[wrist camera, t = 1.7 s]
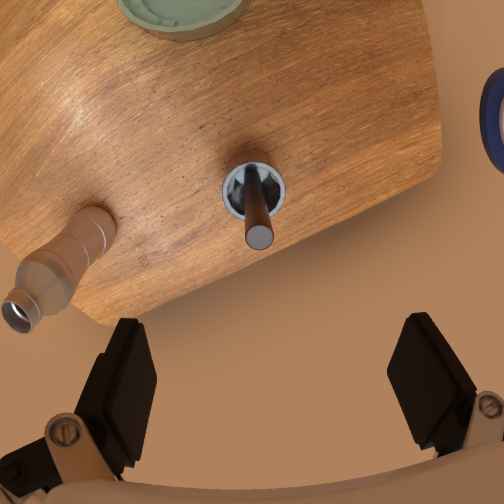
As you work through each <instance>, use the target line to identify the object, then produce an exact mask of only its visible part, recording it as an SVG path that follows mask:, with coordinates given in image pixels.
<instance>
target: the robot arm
mask: <svg viewBox="0 0 504 504" xmlns="http://www.w3.org/2000/svg"><path fill="white" fill-rule="evenodd" d="M499 128H500V135H501V139H502V142H503V145H504V97H503V99H502V102H501V106H500V112H499ZM387 375H388V378H389V380H390V382H391V385H392V387H393V390H394V392H395V394H396V397H397V399H398V401H399V404H400V406H401V409H402V411H403V414H404V416H405V418H406V421H407V424H408V426H409V429H410V431H411V434H412V436H413V439H414V441H415V443H416V444H419V446H420V449H421V450H424V449H428V448H431V447H433V446H434V448H435V450H436V451H435V454H434V457H433V459H432V460H428V461H425V462H422V463H418V464H415V465H412V466H408V467H404V468H401V469H397V470H393V471H389V472H385V473H380V474H376V475H372V476H367V477H362V478H357V479H351V480H346V481H339V482H333V483H326V484H319V485H311V486H301V487H292V488H291V487H290V488H276V489H253V490H219V489H196V488H182V487H170V486H160V485H152V484H143V483H134V482H126V481H125V479H124V478H123V476H122V475H121V474H122V473H123V471H124V467H131V468H134V465H135V461H139V460H140V458H141V453H142V448H143V443H144V438H145V434H146V429H147V424H148V419H149V415H150V410H151V406H152V401H153V397H154V393H155V388H156V384H157V375H156V371H155V368H154V364H153V360H152V357H151V353H150V349H149V345H148V341H147V337H146V334H145V329H144V325H143V324H142V323H139V322H138V320H137V319H134V318H120V320H119V322H118V324H117V326H116V328H115V330H114V333H113V335H112V337H111V339H110V342H109V344H108V346H107V348H106V351H105V353H100V354H99V355H98V357H97V358H96V361H95V363H94V365H93V368H92V370H91V372H90V375H89V377H88V379H87V382H86V384H85V387H84V389H83V391H82V394H81V396H80V399H79V401H78V404H77V406H76V409H75V412H74V414H72V413H61V414H58V415H56V416H54V417H52V418H51V419H50V420H49V422H48V423H47V425H46V427H45V433H44V434H45V437H43V438H41V439H39V440H37V441H35V442H32V443H30V444H28V445H26V446H24V447H22V448H20V449H18V450H16V451H13V452H11V453H9V454H7V455H5V456H4V457H2V458H1V459H0V504H504V401H503V399H502V398H501V397H500V396H499V395H498V394H496V393H494V392H491V391H483V392H481V393H479V394H478V395H477V394H476V392H475V391H476V390H477V388H476V387H475V385H474V383H473V381H472V380H471V378H470V377H469V375H468V373H467V372H466V370H465V369H464V367H463V365H462V364H461V362H460V361H459V359H458V358H457V356H456V355H455V353H454V351H453V350H452V348H451V347H450V345H449V344H448V342H447V341H446V340H445V338H444V337H443V335H442V334H441V332H440V331H439V329H438V328H437V326H436V325H435V323H434V322H433V321H432V319H431V318H430V317H429V315H428V314H427V313H426V312H420V313H412V314H411V315H410V316H409V318H407V319H406V321H405V323H404V326H403V329H402V332H401V335H400V337H399V340H398V342H397V345H396V348H395V350H394V353H393V355H392V358H391V360H390V363H389V365H388V368H387Z"/></svg>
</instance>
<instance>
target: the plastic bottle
mask: <svg viewBox="0 0 504 504" xmlns="http://www.w3.org/2000/svg"><path fill="white" fill-rule="evenodd" d="M115 235H116V228H115V223H114V221H113V219H112V217H111V216H110V215H109V214H108V213H107V212H106V211H105V210H103V209H101V208H99V207H93V206H91V207H86V208H84V209H81V210H79V211H78V212H76V213H75V214H74V215H73V216H72V218H71V219H70V220H69V221H68V223H67V225H66V226H65V227H64V228H63V230H62V231H61V232H60V233H59V234H58V235H57V236H56V237H54V238H53V239H52V240H51V241H49V242H48V243H47V244H45V245H43V246H42V247H40V248H38V249H37V250H35V251H33V252H32V253H30V254H29V255H28V256H26V257H25V258H24V259H23V260H22V261H21V263H20V265H19V267H18V270H17V272H16V279H15V288H13V289H12V290H11V291H10V292H9V294H8V296H7V297H6V299H5V300H4V301H3V303H2V304H1V313H2V316H3V318H4V320H5V322H6V323H7V324H8V325H9V326H10V327H11V328H12V329H13V330H14V331H16V332H18V333H20V334H29V333H30V332H31V331H32V330H33V328H34V327H35V326H36V325H37V324H38V323H39V322H40V321H41V319H42V316H49V315H54V314H57V313H59V312H60V311H62V310H63V309H65V308H66V307H67V306H68V304H69V302H70V301H71V299H72V297H73V295H74V293H75V290H76V288H77V286H78V284H79V282H80V280H81V278H82V277H83V275H84V274H85V272H86V271H87V269H88V268H89V267H90V266H91V265H92V264H93V263H94V262H95V261H96V260H97V259H98V258H100V257H102V256H103V255H104V254H105V253H106V252H107V251H108V250H109V249H110V248H111V246H112V244H113V241H114V239H115Z"/></svg>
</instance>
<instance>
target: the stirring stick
mask: <svg viewBox="0 0 504 504" xmlns="http://www.w3.org/2000/svg"><path fill="white" fill-rule="evenodd" d="M244 211H245V240H246V243H247V244H248V245H249V246H250V247H251V248H253V249H255V250H263V249H266V248H268V247H269V246H270V245H271V244H272V242H273V240H274V233H273V229H272V225H271V220H270V216H269V212H268V207H267V203H266V199H265V195H264V190H263V186H262V182H261V178H260V174H259V173H258V172H257V171H255V170H249V171H247V172H246V173H245V175H244Z"/></svg>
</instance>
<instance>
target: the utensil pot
mask: <svg viewBox="0 0 504 504" xmlns="http://www.w3.org/2000/svg"><path fill="white" fill-rule="evenodd" d="M249 170H255V171H257V172H258V173H259V174H260V178H261V182H262V186H263V190H264V195H265V199H266V203H267V207H268V212H269V216H270V218H271V217H272V216H273V215H275V214H276V213H277V212H278V211H279V210H280V208H281V206H282V204H283V202H284V200H285V191H286V187H285V184H284V181H283V179H282V176H281V174H280V172H279V170H278V168H277V167H276V165H275V163H274V162H273V160H272V159H271V158H270V156H268V155H267V154H266V153H264V152H262V151H259V150H255V149H248V150H244V151H241V152H239V153H237V154H236V155H235V156H234V157H233V158H232V159H231V160H230V162H229V164H228V166H227V170H226V172H225V177H224V181H223V185H222V198H223V201H224V203H225V206H226V208H227V209H228V211H229V212H230V213H232V214H233V215H234V216H235V217H236V218H238V219H241V220H244V221H245V211H244V175H245V173H246V172H247V171H249Z"/></svg>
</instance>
